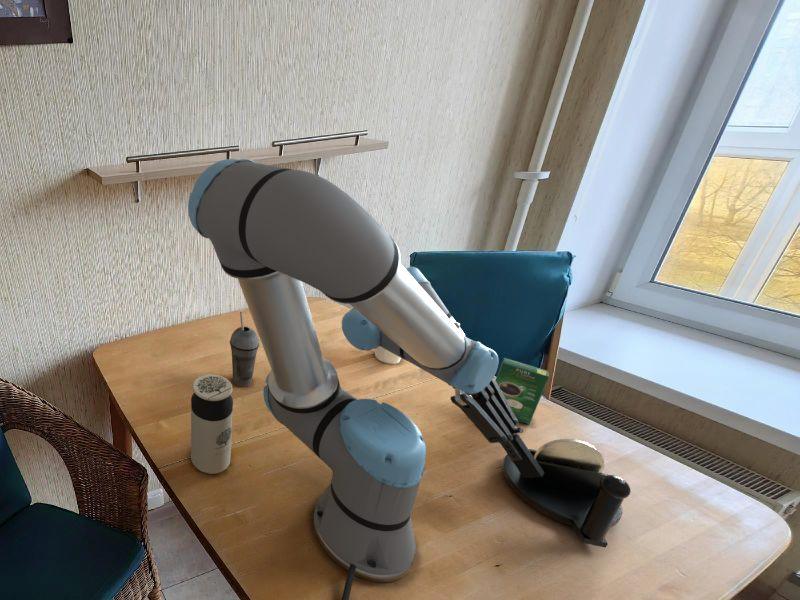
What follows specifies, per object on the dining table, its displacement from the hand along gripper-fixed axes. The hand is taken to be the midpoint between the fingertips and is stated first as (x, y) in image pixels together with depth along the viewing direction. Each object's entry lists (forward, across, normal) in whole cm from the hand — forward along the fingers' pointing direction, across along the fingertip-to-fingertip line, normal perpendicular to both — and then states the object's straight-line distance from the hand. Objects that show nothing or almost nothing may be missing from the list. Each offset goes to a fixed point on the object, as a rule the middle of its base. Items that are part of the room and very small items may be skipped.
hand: (534, 475), depth 71 cm
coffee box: (0, +28, +12) cm, 30 cm away
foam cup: (-20, +29, +32) cm, 48 cm away
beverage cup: (-33, -10, +46) cm, 57 cm away
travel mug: (-23, -34, +36) cm, 55 cm away
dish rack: (+8, +9, +2) cm, 12 cm away
